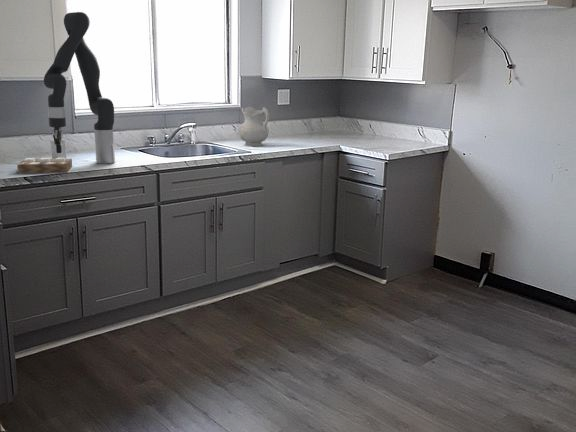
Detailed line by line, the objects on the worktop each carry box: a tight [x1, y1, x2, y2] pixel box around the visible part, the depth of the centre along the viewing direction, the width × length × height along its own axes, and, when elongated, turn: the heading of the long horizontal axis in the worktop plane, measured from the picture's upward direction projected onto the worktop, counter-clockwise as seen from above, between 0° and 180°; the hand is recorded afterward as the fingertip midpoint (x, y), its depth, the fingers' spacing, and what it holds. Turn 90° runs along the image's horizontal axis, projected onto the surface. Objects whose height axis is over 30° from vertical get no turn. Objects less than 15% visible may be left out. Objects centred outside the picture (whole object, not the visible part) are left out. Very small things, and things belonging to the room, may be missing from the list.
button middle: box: [39, 157, 51, 162], centre depth 294 cm, size 4×4×2 cm
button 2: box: [55, 158, 67, 162], centre depth 295 cm, size 4×4×2 cm
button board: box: [16, 158, 73, 174], centre depth 294 cm, size 22×16×4 cm
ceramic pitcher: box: [237, 105, 270, 147], centre depth 388 cm, size 22×20×25 cm
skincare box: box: [50, 139, 67, 159], centre depth 313 cm, size 6×4×12 cm
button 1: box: [23, 157, 36, 162], centre depth 293 cm, size 4×4×2 cm
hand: (59, 152), depth 294 cm, fingers closed
